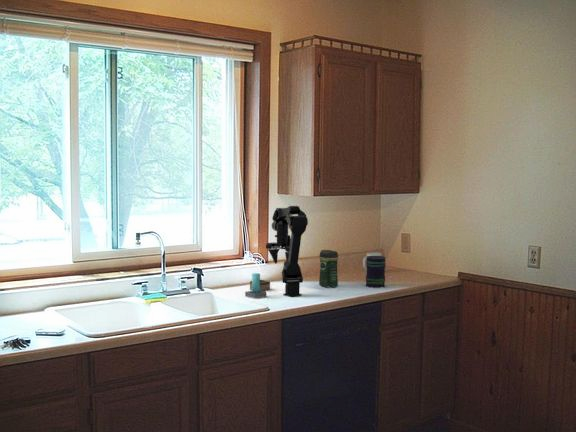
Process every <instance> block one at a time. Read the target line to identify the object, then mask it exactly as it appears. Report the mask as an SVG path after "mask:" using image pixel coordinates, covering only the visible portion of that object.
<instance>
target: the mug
mask: <svg viewBox="0 0 576 432" xmlns="http://www.w3.org/2000/svg"><path fill="white" fill-rule="evenodd" d="M367 256H382V253H381V252H367V253H366V256H364V257H363V260H362V267H363V268H364V269H366V270H365V272H366V271H367V268H366V262H367V261H366V260H367V258H366V257H367Z"/></svg>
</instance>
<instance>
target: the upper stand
mask: <svg viewBox="0 0 576 432" xmlns="http://www.w3.org/2000/svg"><path fill="white" fill-rule="evenodd" d="M270 290H271V281H268V280H264V279H260V291H263V292H267V291H270ZM249 291H252V280H250V281H249Z"/></svg>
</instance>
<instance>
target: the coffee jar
mask: <svg viewBox="0 0 576 432" xmlns="http://www.w3.org/2000/svg"><path fill="white" fill-rule="evenodd" d="M338 260H339V253H338V251H335V250H331V249H322V250H321V251H319V262H320V263H319V265H320V266H319V279H318V281H319V282H318V285H319V286H320V287H324V288H335V287H338V286H339V285H338V284H339V279H338Z"/></svg>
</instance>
